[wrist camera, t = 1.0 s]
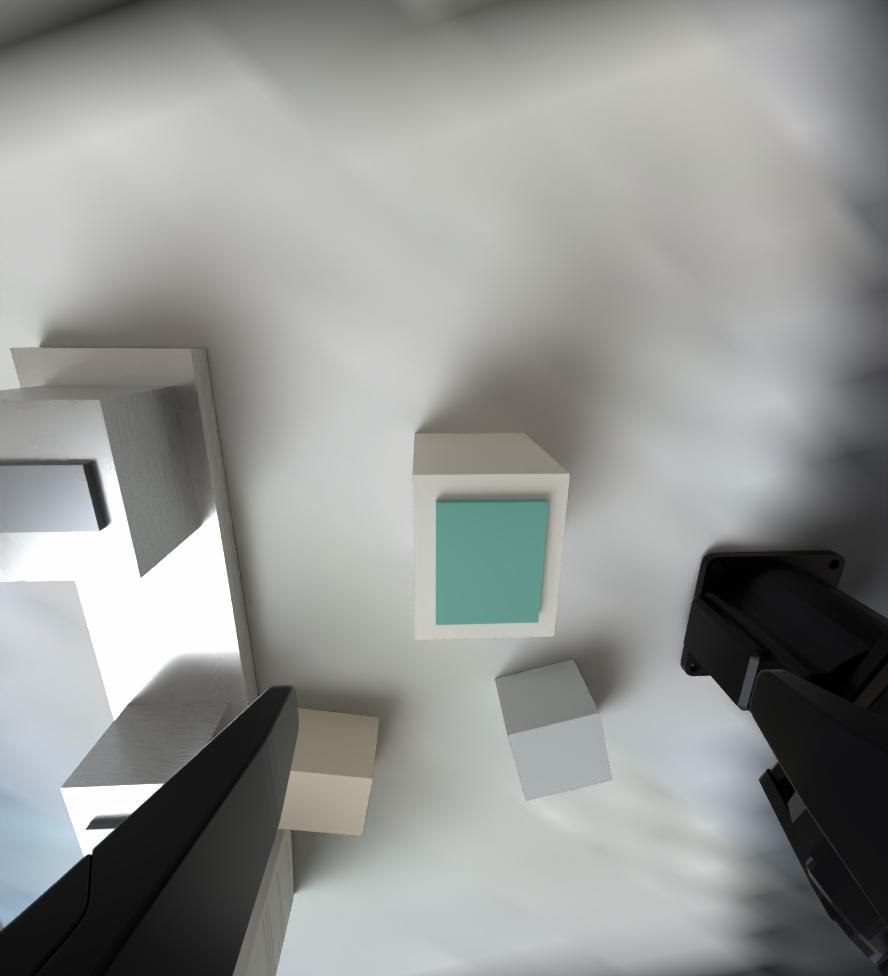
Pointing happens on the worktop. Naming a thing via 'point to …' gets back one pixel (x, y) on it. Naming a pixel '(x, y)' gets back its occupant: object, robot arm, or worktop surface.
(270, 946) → the supplement box
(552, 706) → the block
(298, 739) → the beige block
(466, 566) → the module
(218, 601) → the rail
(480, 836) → the worktop surface
